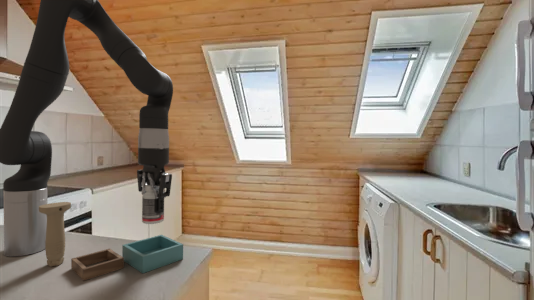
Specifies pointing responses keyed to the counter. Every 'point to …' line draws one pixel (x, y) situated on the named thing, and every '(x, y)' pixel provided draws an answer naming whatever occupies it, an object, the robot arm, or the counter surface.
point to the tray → (152, 253)
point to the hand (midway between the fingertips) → (153, 210)
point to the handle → (55, 231)
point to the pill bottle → (150, 207)
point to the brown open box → (96, 270)
